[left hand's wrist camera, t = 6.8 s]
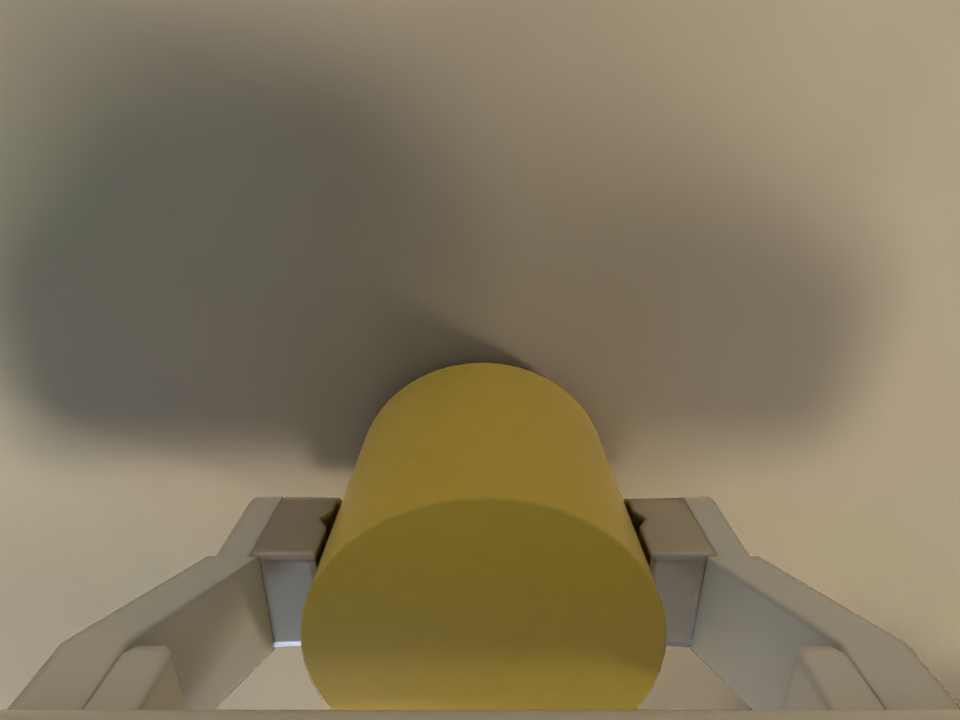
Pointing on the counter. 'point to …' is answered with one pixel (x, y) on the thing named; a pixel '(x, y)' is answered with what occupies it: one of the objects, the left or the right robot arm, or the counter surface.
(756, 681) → the left robot arm
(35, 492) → the counter surface
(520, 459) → the yellow cylinder
